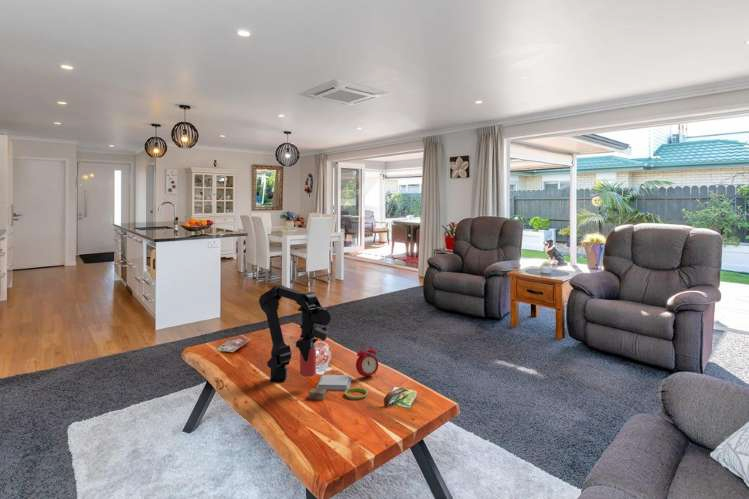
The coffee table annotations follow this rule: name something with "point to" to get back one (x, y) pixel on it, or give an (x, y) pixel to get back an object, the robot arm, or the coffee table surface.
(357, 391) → the olive green ring
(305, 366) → the beer can
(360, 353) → the alarm clock
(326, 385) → the stand
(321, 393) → the metal block
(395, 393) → the wallet with cash
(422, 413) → the coffee table surface
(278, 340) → the robot arm
